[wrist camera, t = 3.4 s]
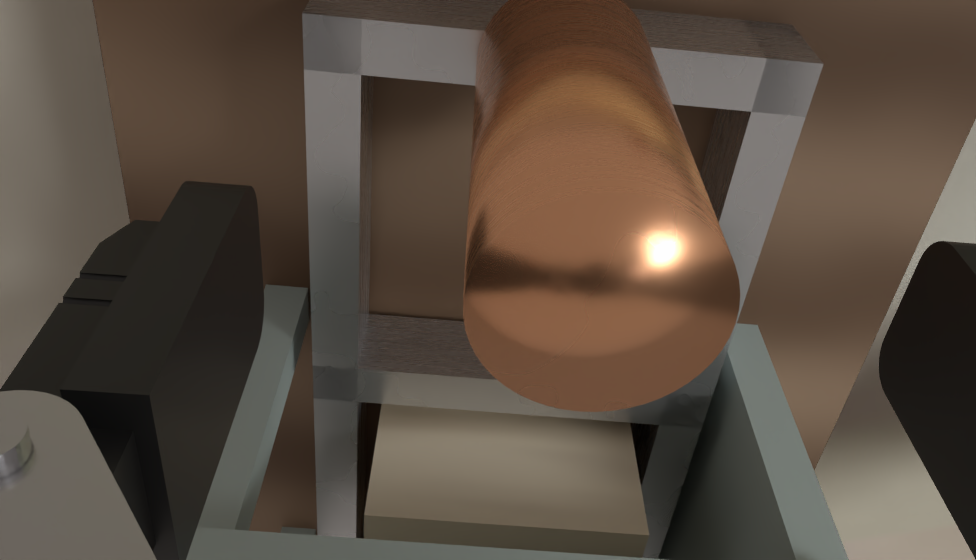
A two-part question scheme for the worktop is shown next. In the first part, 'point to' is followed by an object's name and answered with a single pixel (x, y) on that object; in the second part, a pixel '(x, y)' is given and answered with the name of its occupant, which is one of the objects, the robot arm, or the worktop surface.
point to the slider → (550, 219)
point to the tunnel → (684, 555)
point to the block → (505, 482)
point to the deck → (447, 163)
